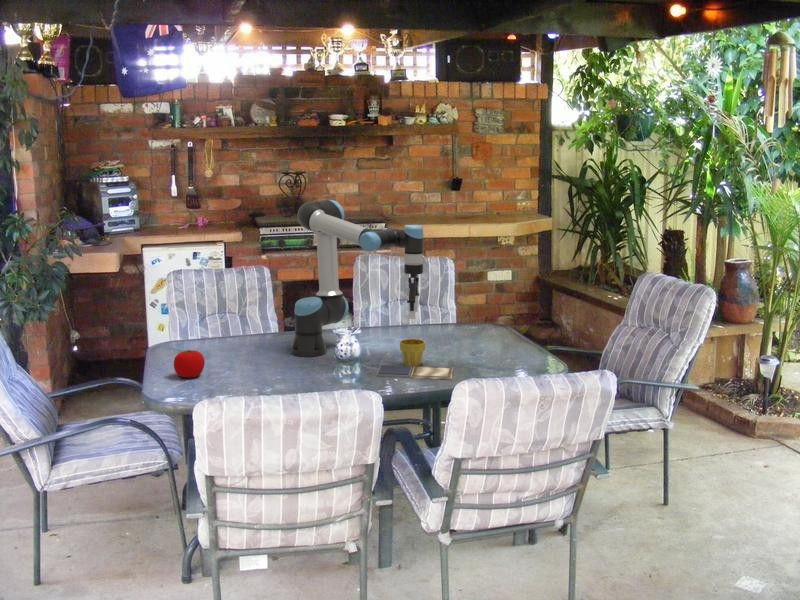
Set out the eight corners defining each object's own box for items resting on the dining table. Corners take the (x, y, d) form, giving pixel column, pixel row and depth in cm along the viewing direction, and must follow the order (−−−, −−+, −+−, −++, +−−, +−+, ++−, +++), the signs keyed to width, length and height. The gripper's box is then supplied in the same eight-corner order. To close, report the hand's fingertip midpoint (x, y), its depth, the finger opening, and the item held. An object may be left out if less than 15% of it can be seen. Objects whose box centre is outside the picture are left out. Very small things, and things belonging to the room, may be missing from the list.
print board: (410, 378, 354) (410, 376, 354) (413, 367, 370) (413, 365, 370) (451, 380, 353) (451, 377, 353) (453, 369, 369) (453, 366, 368)
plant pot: (407, 369, 368) (407, 345, 366) (395, 363, 377) (395, 340, 375) (429, 366, 373) (429, 342, 371) (417, 360, 382) (417, 337, 380)
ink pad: (376, 376, 357) (376, 373, 357) (380, 367, 370) (380, 364, 370) (409, 377, 356) (409, 374, 356) (412, 368, 369) (412, 365, 368)
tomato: (177, 381, 348) (176, 355, 346) (171, 374, 358) (170, 348, 356) (208, 378, 352) (207, 352, 350) (202, 370, 363) (201, 345, 361)
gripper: (421, 268, 355) (420, 321, 359) (424, 259, 379) (424, 309, 383) (401, 268, 355) (401, 321, 359) (406, 259, 380) (406, 308, 384)
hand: (413, 315), depth 371 cm, fingers open, 13 cm apart
